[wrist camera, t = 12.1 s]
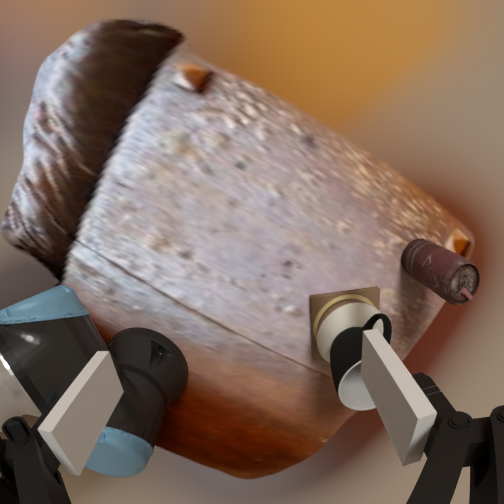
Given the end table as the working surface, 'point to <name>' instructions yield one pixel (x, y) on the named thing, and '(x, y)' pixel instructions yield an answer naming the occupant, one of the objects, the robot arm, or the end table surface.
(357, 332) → the mug
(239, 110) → the end table surface
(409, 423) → the robot arm
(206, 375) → the end table surface
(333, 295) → the stand
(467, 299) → the can
